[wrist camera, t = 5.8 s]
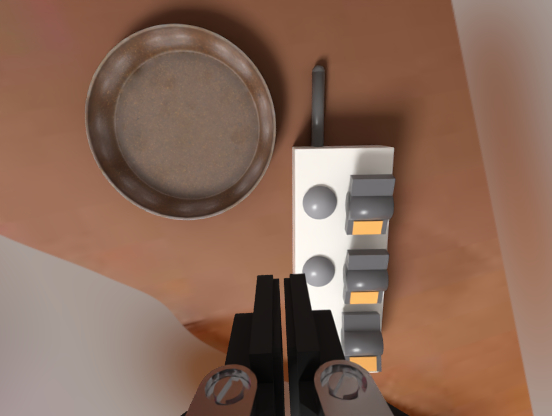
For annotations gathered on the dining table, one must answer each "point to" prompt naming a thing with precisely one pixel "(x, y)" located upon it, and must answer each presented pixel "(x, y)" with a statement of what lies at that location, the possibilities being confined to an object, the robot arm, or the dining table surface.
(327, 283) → the power strip
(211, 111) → the plant saucer
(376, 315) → the switch
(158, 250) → the dining table surface
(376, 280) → the switch middle
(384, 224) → the switch
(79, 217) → the dining table surface
